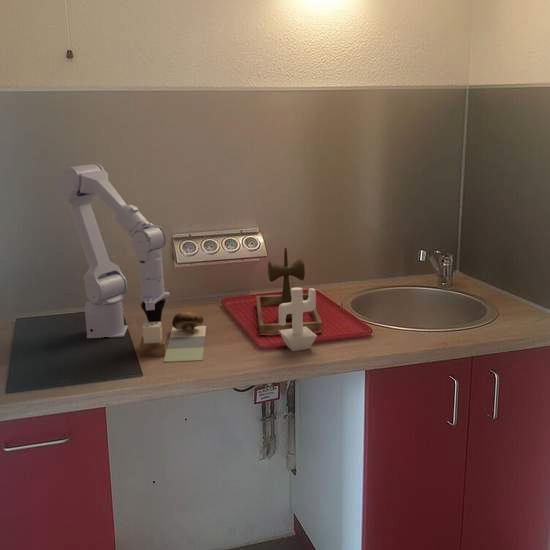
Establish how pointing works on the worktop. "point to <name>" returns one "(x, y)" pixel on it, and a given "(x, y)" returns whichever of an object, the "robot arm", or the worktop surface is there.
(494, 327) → the worktop surface
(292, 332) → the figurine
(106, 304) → the robot arm
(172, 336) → the board
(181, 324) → the mushroom
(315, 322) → the brown rectangular frame
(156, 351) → the plinth
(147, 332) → the beige cube
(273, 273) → the kendama
